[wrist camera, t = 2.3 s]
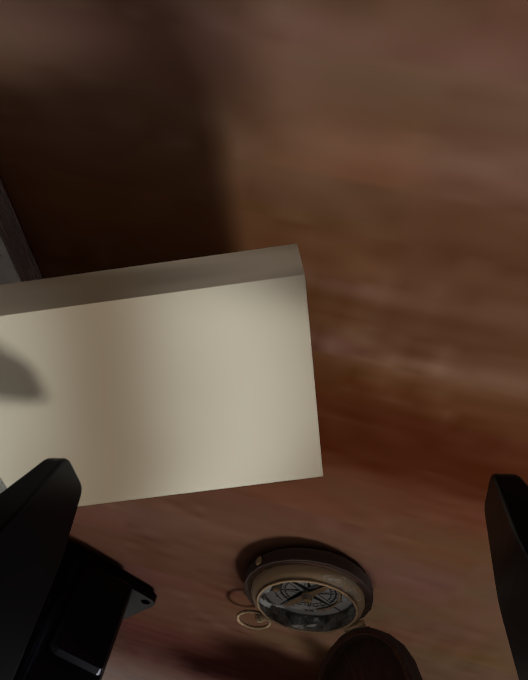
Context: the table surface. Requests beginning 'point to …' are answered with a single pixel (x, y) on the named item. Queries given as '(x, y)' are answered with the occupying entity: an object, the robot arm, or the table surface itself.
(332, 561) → the compass
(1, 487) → the steel block
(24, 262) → the pivot stand
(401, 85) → the table surface
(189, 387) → the plank
